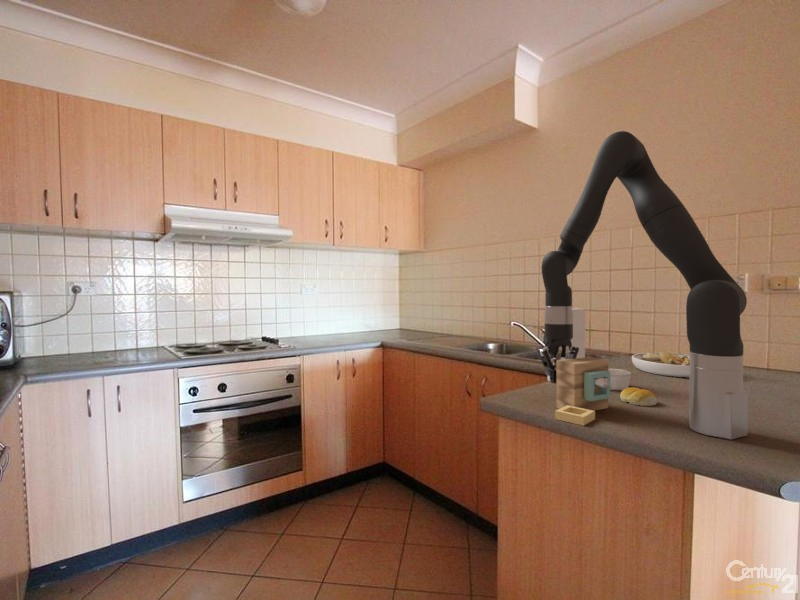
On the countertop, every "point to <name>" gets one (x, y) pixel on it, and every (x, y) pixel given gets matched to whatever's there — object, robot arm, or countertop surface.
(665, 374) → the bowl
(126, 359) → the countertop surface
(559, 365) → the block
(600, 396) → the frame
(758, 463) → the countertop surface
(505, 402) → the countertop surface
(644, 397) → the bread roll
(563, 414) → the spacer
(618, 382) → the ramekin
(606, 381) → the shaft
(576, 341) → the tall white carton
